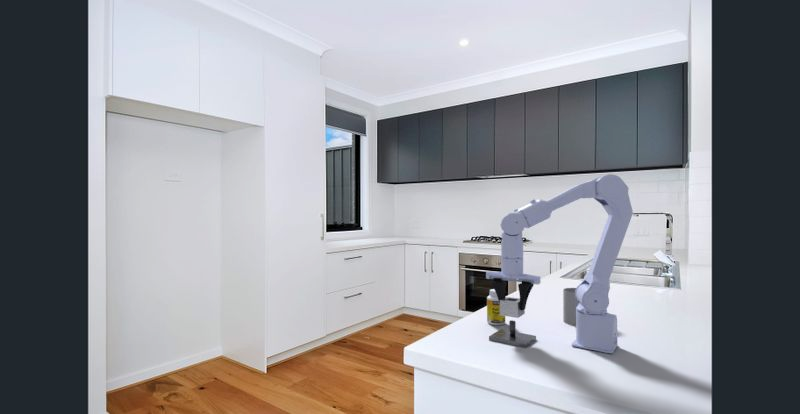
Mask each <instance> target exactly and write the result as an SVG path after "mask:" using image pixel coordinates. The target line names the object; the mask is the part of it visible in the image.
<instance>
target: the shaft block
mask: <svg viewBox="0 0 800 414" xmlns="http://www.w3.org/2000/svg"><path fill="white" fill-rule="evenodd" d="M508 326H509V327H508V328H509V330H507V329H502V328H500V329H498V331H497V330H496V331H495V332H493V333H492V334H490V335H489V336H488V340H489V341H491V342H496V343H502V344H505V345H506V344H507V345H511V346H515V347H520V348H525V349H526V348H527V347H529V346H530V345H532V343H534V342H535V341H536V340H537V335H534V334H528V333H523V332H519V331H516V329H517V328H516V320H509V325H508Z"/></svg>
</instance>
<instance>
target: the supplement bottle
mask: <svg viewBox="0 0 800 414" xmlns="http://www.w3.org/2000/svg"><path fill="white" fill-rule="evenodd" d="M486 322H487V323H488V324H489V325H492V326H503V325H504V324H506V316H502V315H500V305H499V300H498V297H497V294H496V292H495V289H494V288H493V289H489V295H488V296H486Z"/></svg>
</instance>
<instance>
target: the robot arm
mask: <svg viewBox="0 0 800 414" xmlns="http://www.w3.org/2000/svg"><path fill="white" fill-rule="evenodd" d="M580 199H594V200H596V202H598V203H599V204H601V206H602V207H603V209H604V210H605V212H606V213H607V218H606V222H605V224H604V227H603V229H602V232H601V234H600V235H601V236H600V238H599V241H598V244H597V247H596V249H595V253H594V255H593V258H592V261H591V264H590V265H589V266H590V267H589V269H588V271H587V272H586V274H585V275H584V277H583V280H582V281H581V282H580V283H579V284H578V285H577V286H576V287H575V288H576V290H575V297H576V299H577V300H578V302H579V304H578V306H577V307H576V326H575V329H576V330H575V331H576V333H575V340H573V342H572V343H571V346H572V347H575V348H576V347H577V348H580V349H586V350H592V351H595V352H600V353H606V354H614V352H615V350H616V349H617V348H618V346H619V344H618V315H616V314H614V313H610V312H608V307H609V306H610V305H609V304H610V298H609V293H610V290H611V284H610V278H611V275H612V272H613V270H614V266H615V265H616V261H617V259H618V256H619V253H620V251H621V247H622V244H623V242H624V239H625V237H626V233H627V231H628V228H629V225H630V222H631V219H632V216H633V212H634V211H633V208H632V204H631V203H632V202H631V200H630V195H629V186H628V185H627V184H626V183H625V182H624V180H623V179H622V178H621V177H620V176H618V175H617V174H612V173H611V174H606V175H603V176H599V177H596V178H594V179H591V180H588V181H584V182H582V183H579V184H576V185H575V186H572V187H570V188H568V189H567V190H564V191H562V192H561V193H559V194H557V195H555V196H553V197H552V198H549V199H548V200H544V199H540V198H538V199H535V198H534V199H531V200H529V203H528V204H526V205H524V206H522V207H520V208H514V209H513V212H511V213H510V212H509V213H507V214H506V215H504V216H503V218H502V219H501V222H500V227H501V229H502V233H501V241H500V242H501V244H500V247H501V250H500V251H501V252H500V253H501V255H500V256H501V257H500V258H501V260H500V261H501V269H500V270H501V271H495V270H494V271H493V270H492V271H491V270H487V271H486V272H485V279H487V280H492V281H491V286H492V287H493V289H495V292H496V294H497V297H498V300H499V305H500V300H501V299H503V298H505V297H506V289H507V288H506V287H507V282H509V281H510V282H514V283H515V282H517V283H518V284H517V286H518V292H519V298H520V310H524V309H525V310H526V306H527V301H528V299H529V295H530V293H531V291H532V289H533V287H534V285H540V284H541V276H540V275H532V274H527V273H524V240H523V231H524V229H525V228H526V229H530V228H531V227H534V226H536V225H538V224H540V223H542V222H544V221H546V220H549V219H550V218H551V215H552V213H553V212H554V211H556V210H558V209H560V208H563V207H565V206H566V205H569V204H571V203H574V202H575V201H579V200H580Z"/></svg>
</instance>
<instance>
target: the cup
mask: <svg viewBox="0 0 800 414" xmlns="http://www.w3.org/2000/svg"><path fill="white" fill-rule="evenodd" d="M576 288H577V287H566V288H563V291H562V292H563V295H562V296H563V298H562V300H563V303H562V304H563V306H562V307H563V309H562V310H563V313H562V314H563V323H564V324H566V325H569V326H575V327H576V307H577V306H578V304H579V302H578V300H577V299H576V297H575V290H576Z"/></svg>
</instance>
